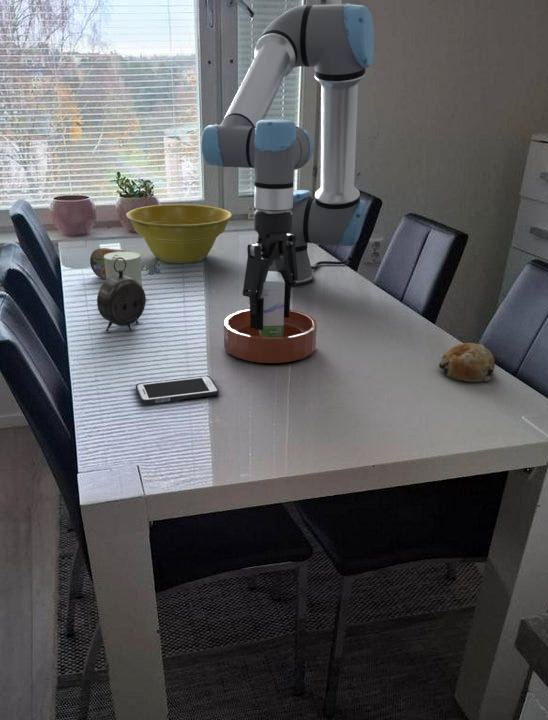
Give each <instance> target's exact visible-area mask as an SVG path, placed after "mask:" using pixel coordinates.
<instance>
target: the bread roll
mask: <svg viewBox="0 0 548 720" xmlns="http://www.w3.org/2000/svg"><path fill="white" fill-rule="evenodd" d="M495 361H496V359H495V357H494V355H493V354H492V352H491V351H490V350H489V349H488V348H486V347H485V345H484V344H479V343H475V342H465V343H462V344H458V345H455V346H453V347H451V348H450V349H449V350H447V351H446V352H445V353H443V356H441V359H440V362H439V364H438V365H439V368H440V369H442V373H443V374H444V375H445V376H446V377H448V378H450V379H453V380H455V381H457V382H467V383H483V382H485V383H486V382H488V381H490V380H491V377H492V375H493V374H494V371H495V367H496V362H495Z"/></svg>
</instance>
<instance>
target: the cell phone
mask: <svg viewBox="0 0 548 720" xmlns="http://www.w3.org/2000/svg"><path fill="white" fill-rule="evenodd" d="M135 391H136V393H137V394H136V395H137V396H138V398H139V401H140V403H141V404H143V405H149V404H156V403H157V404H158V403H164V402H174V401H183V400H190V399H199V398H207V397H213V396H218V395H219V393H220V390H219V388H218V387H217V385H216V383H215V381H214V379H213V378H212V377H211V376H209V375H199V376H190V377H181V378H174V379H173V378H172V379H164V380H157V381H156V380H155V381H147V382H140V383H136V384H135Z"/></svg>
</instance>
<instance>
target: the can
mask: <svg viewBox="0 0 548 720" xmlns="http://www.w3.org/2000/svg"><path fill="white" fill-rule="evenodd" d="M129 251H130V250H129ZM129 251H119V252H112V253H108V254H105V255H104V262H105V270H106V279H105V280H107V279H108V278H110V277H112V276H114V275H119V273H118V272H116V271H115V269H114V262H115V260H116V259H117V258H118V257H122V258H123V259H124V260H125V261H126V268H125V270H124V271H123V273H122V274H123V275H125V276H127V277H129V278H132V279H134V280H136V281H137V282H139V283H140V284H141V286H142V287H143V279H142V266H141V265H142V263H141V254H140V253H139V252H135V251H132V252H129ZM123 259H118V260H117V261H116V263H115V268H116V270H117V271H119V270H123V269H124V267H125V262H124V260H123Z"/></svg>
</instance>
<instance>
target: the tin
mask: <svg viewBox="0 0 548 720" xmlns="http://www.w3.org/2000/svg"><path fill="white" fill-rule="evenodd" d="M119 251H129V252H133V251H132V250H129V249H123V248H122V249H121V248H111V247H99V248H96V249H95V250H93V251H92V252H91V255H90V258H89V264H90V268H91V271H92V273H94V274H95V275H96V276H97V277H98V278H100V279H102V280H107V279H106V270H105V262H104V255H105V254H108V253H112V252H119Z"/></svg>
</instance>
